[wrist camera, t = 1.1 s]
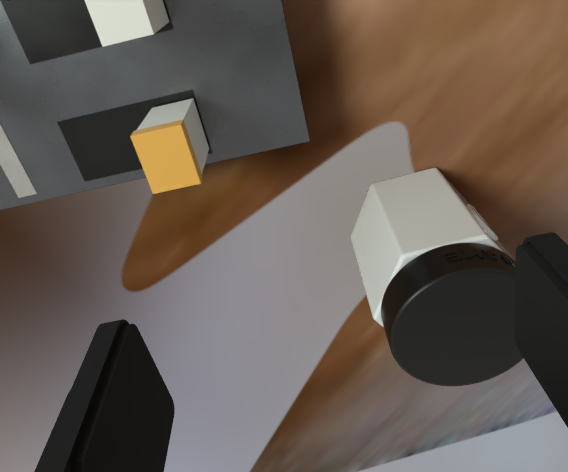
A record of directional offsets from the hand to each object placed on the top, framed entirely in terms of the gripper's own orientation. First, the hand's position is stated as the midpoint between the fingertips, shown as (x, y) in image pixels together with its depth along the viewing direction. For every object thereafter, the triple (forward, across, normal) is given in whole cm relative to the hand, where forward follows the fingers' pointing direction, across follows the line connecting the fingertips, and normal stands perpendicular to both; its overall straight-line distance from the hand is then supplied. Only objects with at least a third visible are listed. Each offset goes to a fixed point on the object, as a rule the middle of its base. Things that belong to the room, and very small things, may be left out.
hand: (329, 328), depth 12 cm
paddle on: (+19, +6, 0) cm, 20 cm away
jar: (+23, -7, +12) cm, 26 cm away
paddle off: (+19, +6, -7) cm, 21 cm away
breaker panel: (+23, +9, -3) cm, 25 cm away
